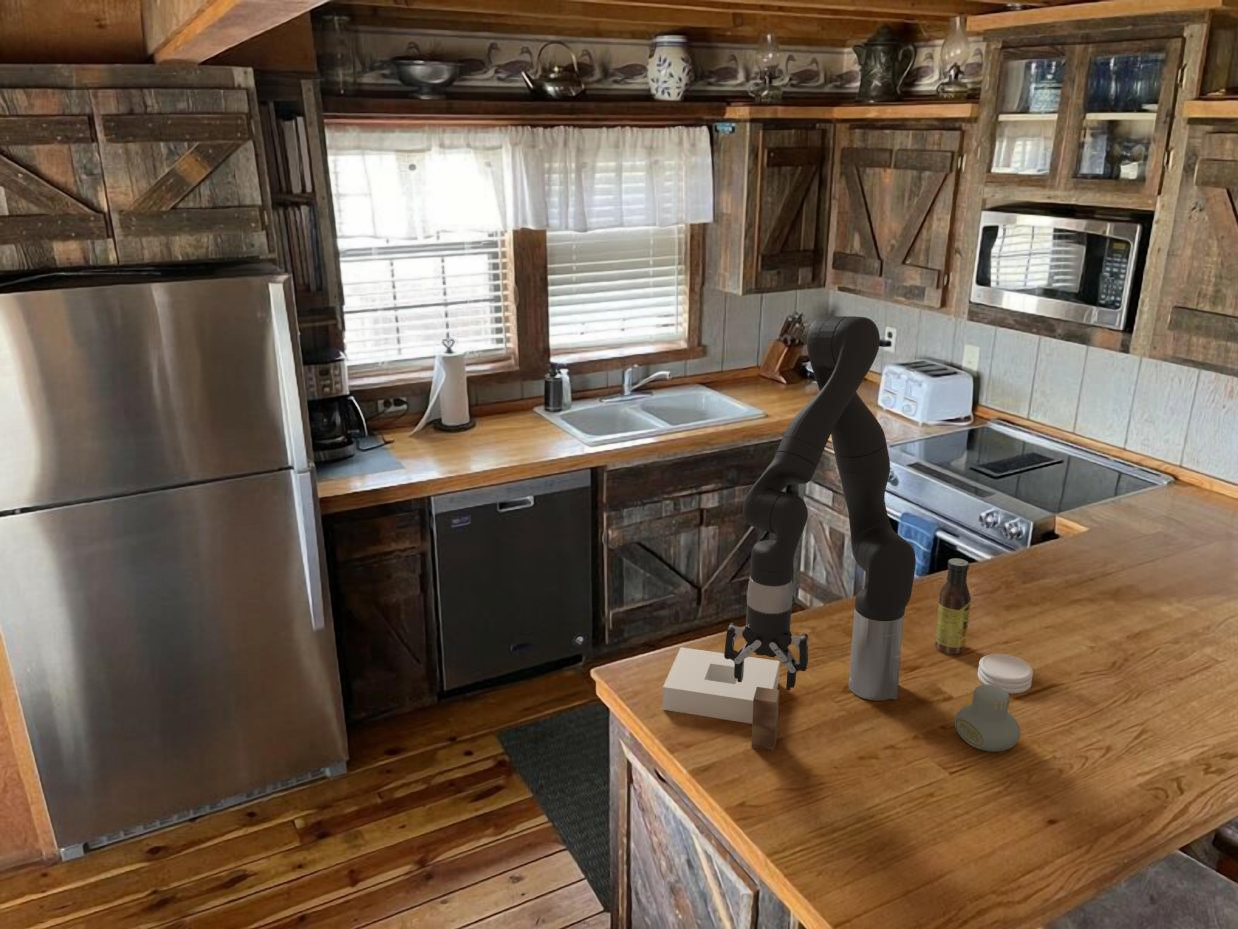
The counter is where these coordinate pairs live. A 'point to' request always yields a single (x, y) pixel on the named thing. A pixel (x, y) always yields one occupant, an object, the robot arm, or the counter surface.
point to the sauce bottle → (953, 609)
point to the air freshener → (988, 720)
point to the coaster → (1005, 672)
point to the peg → (765, 718)
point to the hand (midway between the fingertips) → (764, 684)
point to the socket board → (716, 685)
